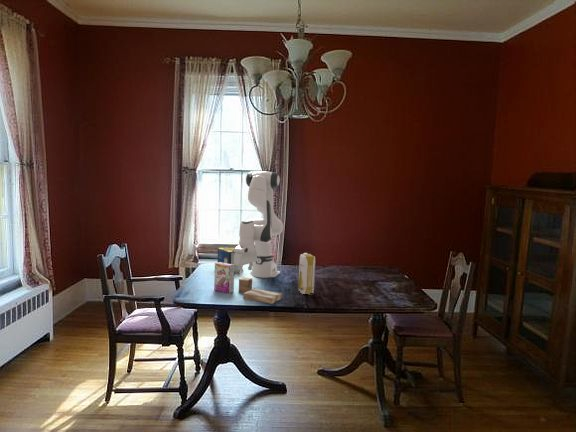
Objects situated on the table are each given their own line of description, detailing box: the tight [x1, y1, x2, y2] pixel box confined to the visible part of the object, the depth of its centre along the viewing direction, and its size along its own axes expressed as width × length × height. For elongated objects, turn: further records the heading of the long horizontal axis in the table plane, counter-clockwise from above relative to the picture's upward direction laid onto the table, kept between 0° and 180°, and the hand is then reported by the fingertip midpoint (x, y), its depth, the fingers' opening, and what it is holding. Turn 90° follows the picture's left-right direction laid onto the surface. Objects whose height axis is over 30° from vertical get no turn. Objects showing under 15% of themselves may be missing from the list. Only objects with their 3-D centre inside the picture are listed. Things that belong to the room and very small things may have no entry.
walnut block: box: [238, 276, 253, 294], centre depth 250 cm, size 5×6×8 cm
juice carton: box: [297, 252, 316, 295], centre depth 252 cm, size 9×8×24 cm
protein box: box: [217, 246, 240, 274], centre depth 300 cm, size 10×15×16 cm
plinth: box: [242, 288, 283, 305], centre depth 239 cm, size 12×18×3 cm, turn 64°
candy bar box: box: [213, 261, 235, 294], centre depth 249 cm, size 11×5×16 cm, turn 59°
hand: (245, 271), depth 249 cm, fingers open, 8 cm apart
